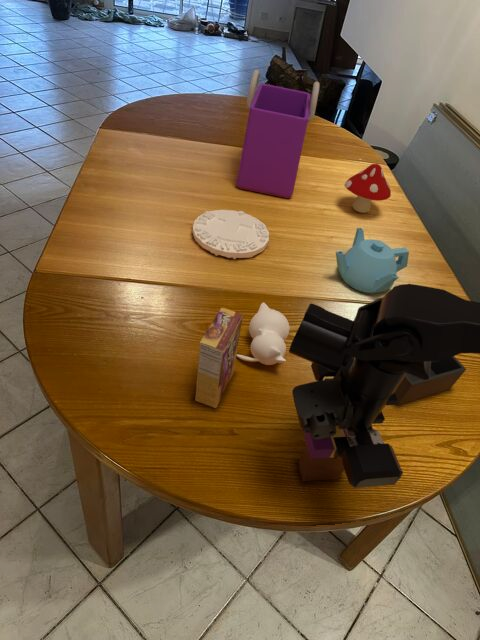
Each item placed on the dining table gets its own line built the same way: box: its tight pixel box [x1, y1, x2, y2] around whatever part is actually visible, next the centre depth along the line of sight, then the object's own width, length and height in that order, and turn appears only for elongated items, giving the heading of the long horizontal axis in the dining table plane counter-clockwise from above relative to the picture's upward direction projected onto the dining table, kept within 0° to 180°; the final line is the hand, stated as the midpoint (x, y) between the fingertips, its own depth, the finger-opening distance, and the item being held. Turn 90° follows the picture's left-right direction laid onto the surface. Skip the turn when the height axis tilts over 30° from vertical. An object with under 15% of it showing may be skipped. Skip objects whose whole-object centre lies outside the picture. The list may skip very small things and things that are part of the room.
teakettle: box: [335, 227, 410, 295], centre depth 101 cm, size 15×15×11 cm
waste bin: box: [395, 355, 467, 407], centre depth 82 cm, size 13×13×6 cm
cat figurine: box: [236, 302, 291, 366], centre depth 81 cm, size 9×11×12 cm
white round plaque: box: [191, 209, 270, 260], centre depth 109 cm, size 20×20×3 cm
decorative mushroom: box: [344, 163, 392, 214], centre depth 125 cm, size 14×14×15 cm
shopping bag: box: [236, 69, 321, 199], centre depth 128 cm, size 28×22×30 cm
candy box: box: [194, 307, 244, 409], centre depth 70 cm, size 9×4×15 cm, turn 160°
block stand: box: [297, 445, 345, 482], centre depth 64 cm, size 6×3×8 cm, turn 98°
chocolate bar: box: [303, 426, 348, 459], centre depth 60 cm, size 8×4×2 cm, turn 98°
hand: (333, 444), depth 61 cm, fingers closed on chocolate bar, 4 cm apart
